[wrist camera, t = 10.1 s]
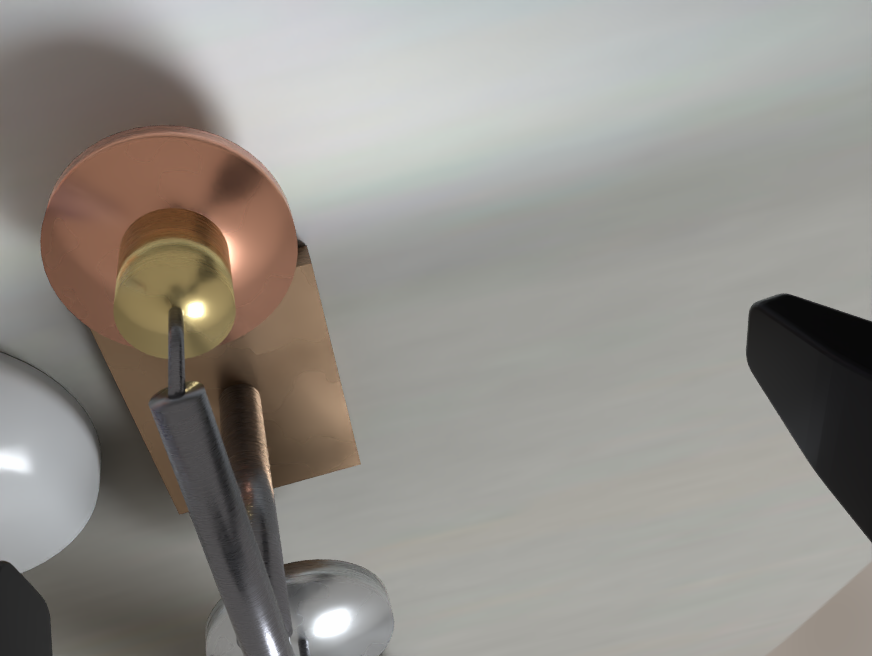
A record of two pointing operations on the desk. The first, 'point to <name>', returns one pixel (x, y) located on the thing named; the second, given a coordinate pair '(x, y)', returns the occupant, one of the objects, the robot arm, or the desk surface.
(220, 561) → the balance
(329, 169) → the desk surface
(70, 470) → the white disc
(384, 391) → the desk surface
